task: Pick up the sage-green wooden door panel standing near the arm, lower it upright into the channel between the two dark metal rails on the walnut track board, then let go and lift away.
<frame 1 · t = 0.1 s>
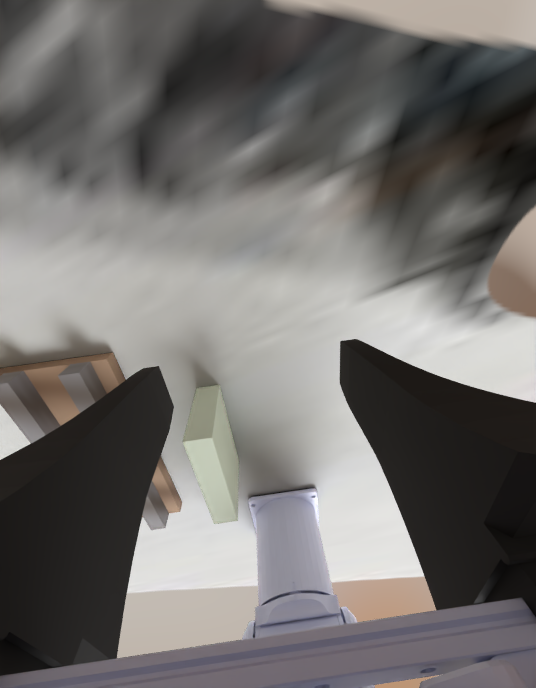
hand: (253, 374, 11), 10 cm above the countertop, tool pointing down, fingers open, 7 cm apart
track board: (107, 448, 25), on the countertop
door panel: (219, 427, 25), on the countertop
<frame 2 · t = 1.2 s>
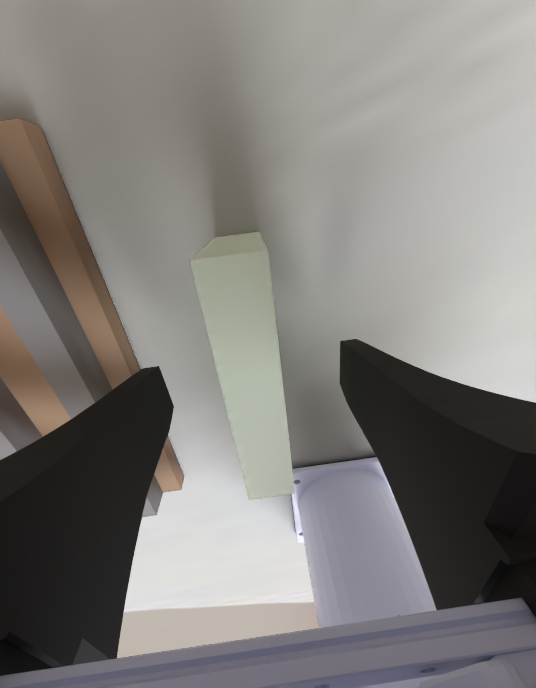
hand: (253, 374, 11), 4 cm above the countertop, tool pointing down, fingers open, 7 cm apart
track board: (53, 369, 14), on the countertop
door panel: (252, 333, 14), on the countertop
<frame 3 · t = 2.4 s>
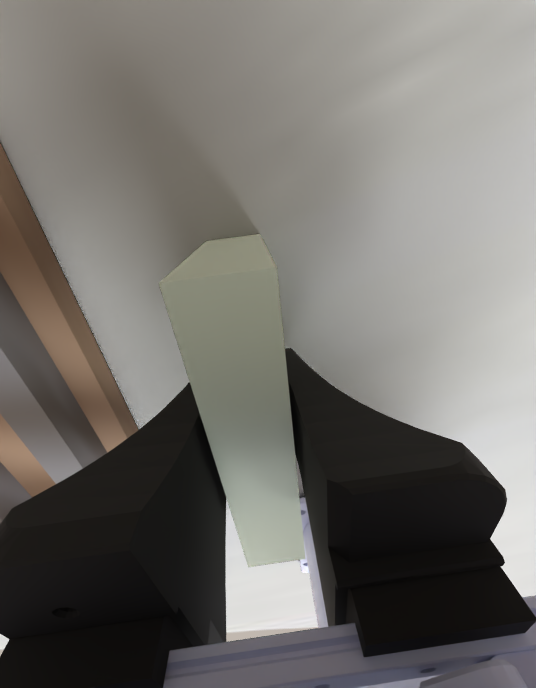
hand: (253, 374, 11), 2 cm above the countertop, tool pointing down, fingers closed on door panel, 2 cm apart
track board: (18, 395, 12), on the countertop
door panel: (252, 353, 12), on the countertop, touching gripper
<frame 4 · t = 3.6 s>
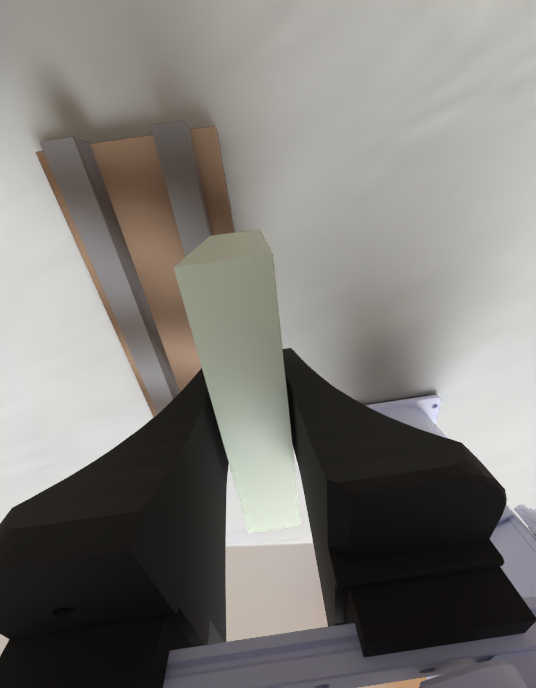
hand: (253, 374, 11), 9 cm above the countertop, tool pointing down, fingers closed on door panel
track board: (184, 317, 19), on the countertop
door panel: (252, 341, 13), point 6 cm above the countertop, touching gripper
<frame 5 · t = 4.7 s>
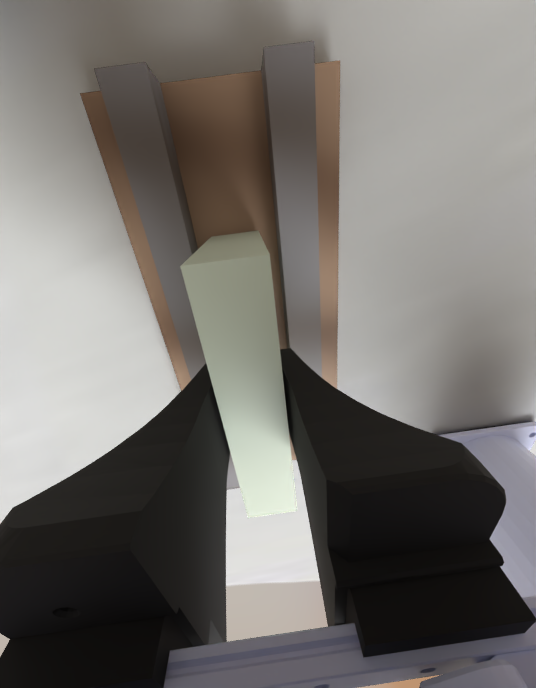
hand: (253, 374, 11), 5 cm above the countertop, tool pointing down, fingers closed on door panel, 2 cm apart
track board: (252, 328, 15), on the countertop
door panel: (251, 337, 13), point 1 cm above the countertop, touching gripper
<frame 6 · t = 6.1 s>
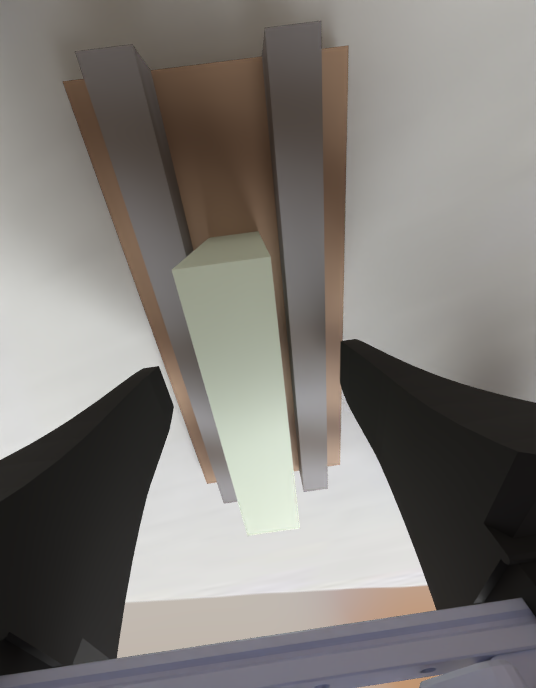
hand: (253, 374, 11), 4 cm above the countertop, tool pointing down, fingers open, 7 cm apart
track board: (251, 334, 14), on the countertop
door panel: (251, 343, 13), point 1 cm above the countertop, touching track board
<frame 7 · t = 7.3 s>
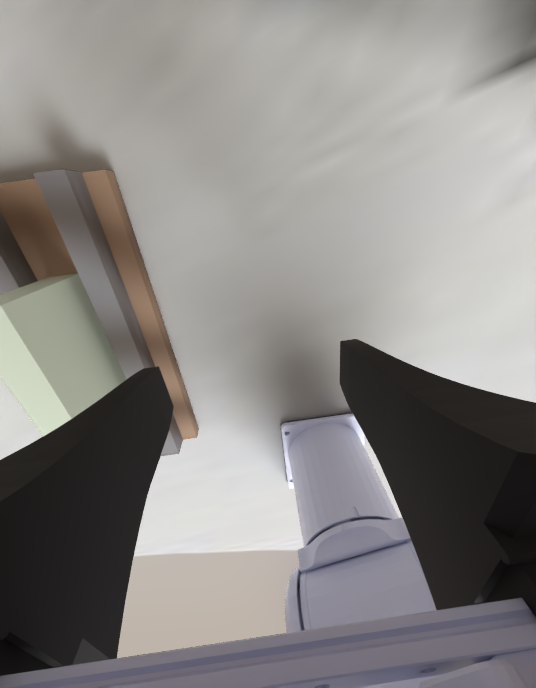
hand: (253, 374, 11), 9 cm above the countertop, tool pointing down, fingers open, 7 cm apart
track board: (105, 339, 19), on the countertop
door panel: (98, 345, 19), point 1 cm above the countertop, touching track board
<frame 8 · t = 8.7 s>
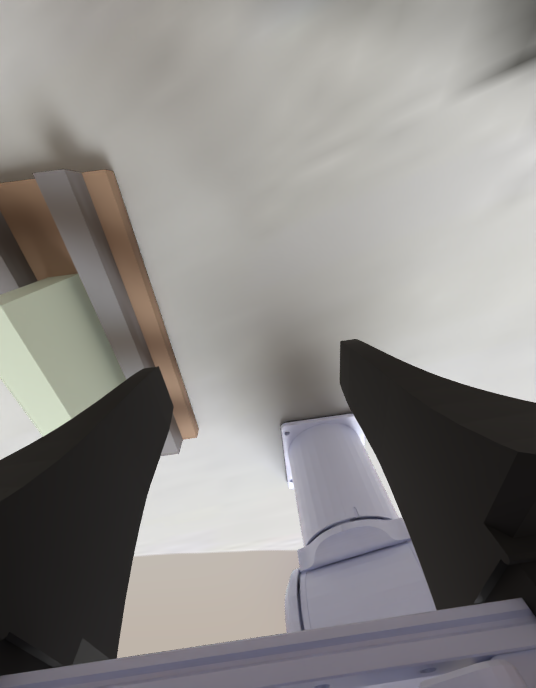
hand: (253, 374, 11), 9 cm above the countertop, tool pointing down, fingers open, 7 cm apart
track board: (105, 339, 19), on the countertop
door panel: (98, 346, 19), point 1 cm above the countertop, touching track board
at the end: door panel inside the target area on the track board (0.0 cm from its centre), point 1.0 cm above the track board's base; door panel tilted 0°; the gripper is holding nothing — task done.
